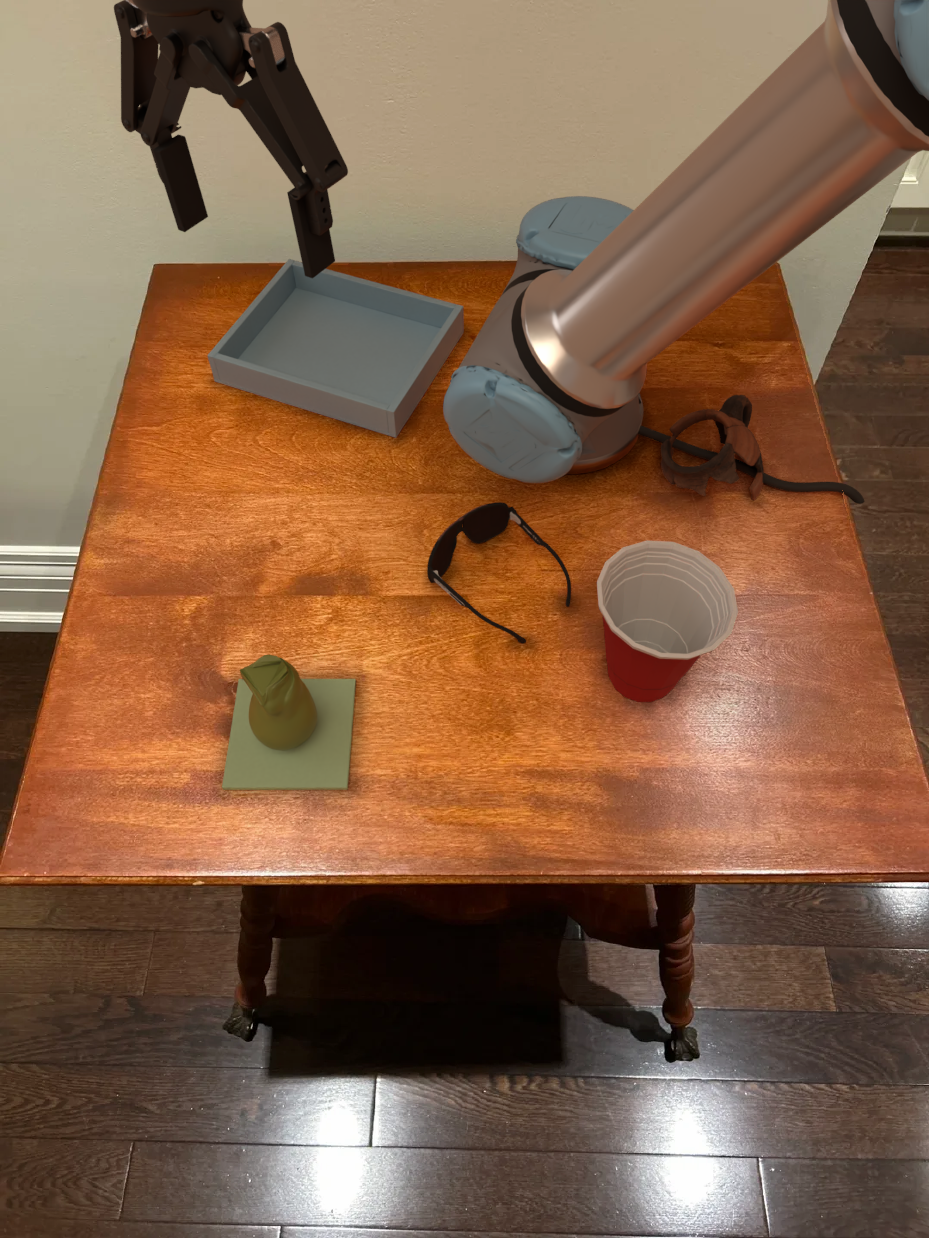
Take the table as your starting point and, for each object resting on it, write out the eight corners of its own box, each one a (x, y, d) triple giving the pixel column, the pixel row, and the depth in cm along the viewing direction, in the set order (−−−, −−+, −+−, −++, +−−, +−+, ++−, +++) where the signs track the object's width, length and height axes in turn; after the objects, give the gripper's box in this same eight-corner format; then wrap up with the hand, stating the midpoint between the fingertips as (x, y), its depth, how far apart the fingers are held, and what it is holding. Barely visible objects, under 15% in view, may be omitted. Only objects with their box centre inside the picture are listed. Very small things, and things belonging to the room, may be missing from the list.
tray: (463, 332, 106) (463, 306, 103) (396, 438, 97) (393, 412, 94) (293, 285, 111) (288, 258, 108) (214, 381, 102) (206, 355, 99)
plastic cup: (703, 741, 78) (737, 666, 68) (572, 718, 79) (587, 641, 69) (711, 632, 84) (743, 548, 74) (589, 612, 85) (605, 527, 75)
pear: (333, 739, 78) (316, 677, 70) (276, 773, 76) (252, 714, 68) (299, 690, 81) (279, 625, 72) (243, 723, 79) (216, 660, 71)
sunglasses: (495, 517, 91) (501, 486, 87) (584, 600, 88) (595, 572, 83) (413, 578, 87) (415, 549, 83) (503, 667, 84) (510, 642, 79)
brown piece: (757, 528, 91) (730, 481, 85) (667, 522, 97) (636, 477, 91) (791, 424, 94) (767, 371, 88) (702, 424, 100) (675, 375, 94)
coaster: (356, 681, 82) (355, 678, 81) (348, 790, 76) (347, 787, 76) (239, 681, 82) (238, 678, 81) (223, 790, 76) (221, 787, 76)
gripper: (370, -67, 55) (409, 264, 72) (84, -116, 65) (177, 186, 82) (285, -23, 52) (346, 315, 68) (-4, -82, 62) (112, 227, 78)
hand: (254, 245), depth 75 cm, fingers open, 13 cm apart
